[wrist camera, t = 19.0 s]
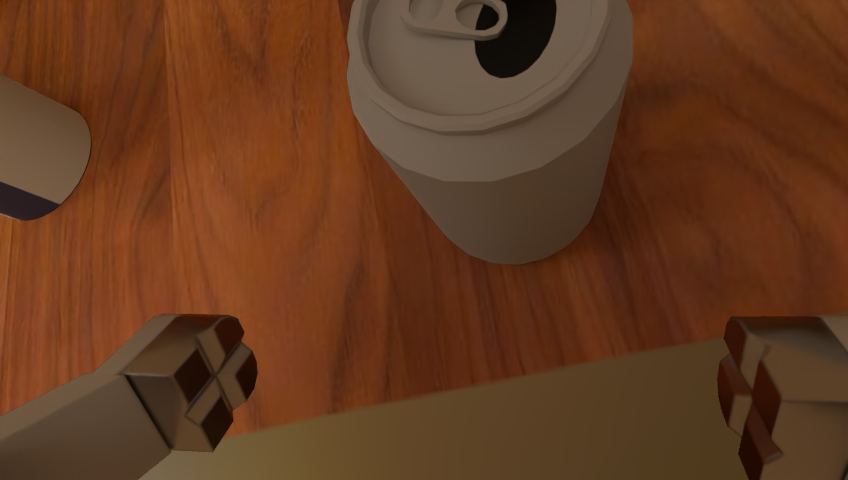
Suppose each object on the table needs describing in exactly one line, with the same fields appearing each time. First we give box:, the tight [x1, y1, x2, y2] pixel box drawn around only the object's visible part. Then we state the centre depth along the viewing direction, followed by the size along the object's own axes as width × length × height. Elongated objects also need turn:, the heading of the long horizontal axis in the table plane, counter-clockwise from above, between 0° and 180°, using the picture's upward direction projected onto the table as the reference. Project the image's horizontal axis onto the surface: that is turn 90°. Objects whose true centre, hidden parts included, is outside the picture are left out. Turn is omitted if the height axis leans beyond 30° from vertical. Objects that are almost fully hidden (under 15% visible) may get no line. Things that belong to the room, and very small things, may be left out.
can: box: [347, 0, 633, 265], centre depth 17 cm, size 8×8×12 cm
